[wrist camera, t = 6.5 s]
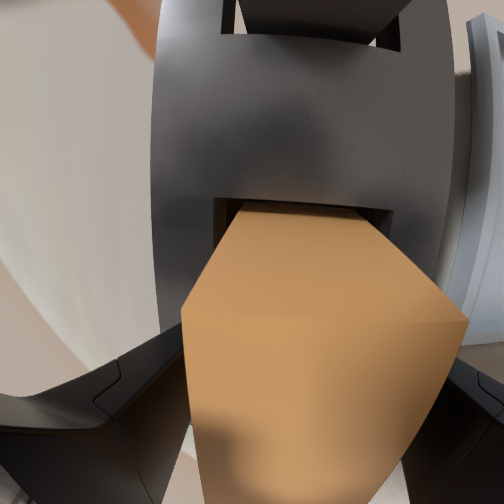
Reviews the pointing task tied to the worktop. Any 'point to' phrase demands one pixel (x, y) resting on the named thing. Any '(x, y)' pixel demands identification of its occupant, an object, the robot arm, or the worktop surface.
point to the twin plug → (321, 18)
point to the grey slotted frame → (296, 131)
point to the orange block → (310, 357)
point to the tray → (483, 192)
